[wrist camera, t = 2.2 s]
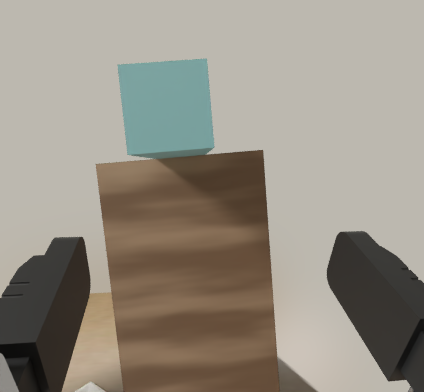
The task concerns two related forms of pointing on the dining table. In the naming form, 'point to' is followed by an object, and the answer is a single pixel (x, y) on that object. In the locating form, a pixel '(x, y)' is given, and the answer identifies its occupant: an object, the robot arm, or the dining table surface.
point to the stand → (191, 272)
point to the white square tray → (90, 388)
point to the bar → (166, 108)
